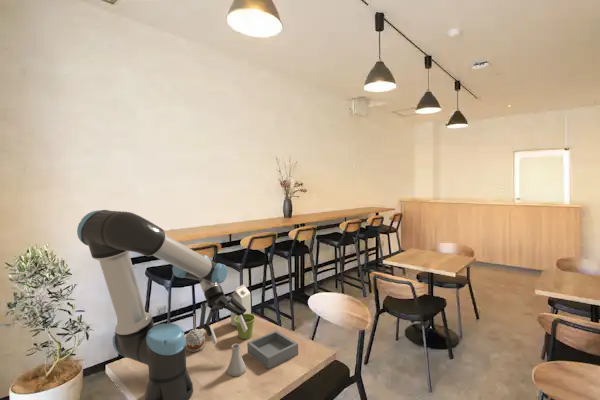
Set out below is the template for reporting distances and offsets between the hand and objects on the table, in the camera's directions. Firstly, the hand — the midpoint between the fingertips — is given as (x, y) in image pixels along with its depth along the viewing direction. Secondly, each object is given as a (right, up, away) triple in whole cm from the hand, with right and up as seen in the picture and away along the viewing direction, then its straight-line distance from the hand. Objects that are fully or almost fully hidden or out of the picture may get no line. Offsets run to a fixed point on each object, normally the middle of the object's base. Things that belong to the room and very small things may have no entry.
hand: (231, 336), depth 128 cm
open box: (+16, -9, +6) cm, 19 cm away
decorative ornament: (-18, -10, +11) cm, 23 cm away
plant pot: (+2, -9, +20) cm, 22 cm away
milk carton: (-2, -7, +33) cm, 34 cm away
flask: (+3, -11, -5) cm, 13 cm away
